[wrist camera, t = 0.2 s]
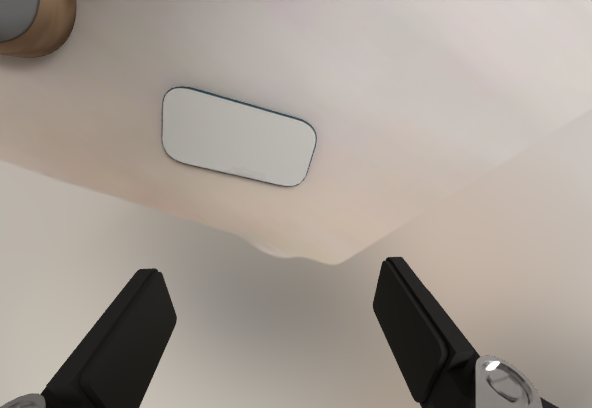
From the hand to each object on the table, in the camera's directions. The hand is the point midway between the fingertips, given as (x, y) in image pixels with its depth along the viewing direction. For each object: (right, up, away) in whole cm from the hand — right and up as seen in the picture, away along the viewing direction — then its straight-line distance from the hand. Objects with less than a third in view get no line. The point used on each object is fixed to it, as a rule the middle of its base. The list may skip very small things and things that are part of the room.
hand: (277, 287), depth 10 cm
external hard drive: (-8, +14, +28) cm, 32 cm away
